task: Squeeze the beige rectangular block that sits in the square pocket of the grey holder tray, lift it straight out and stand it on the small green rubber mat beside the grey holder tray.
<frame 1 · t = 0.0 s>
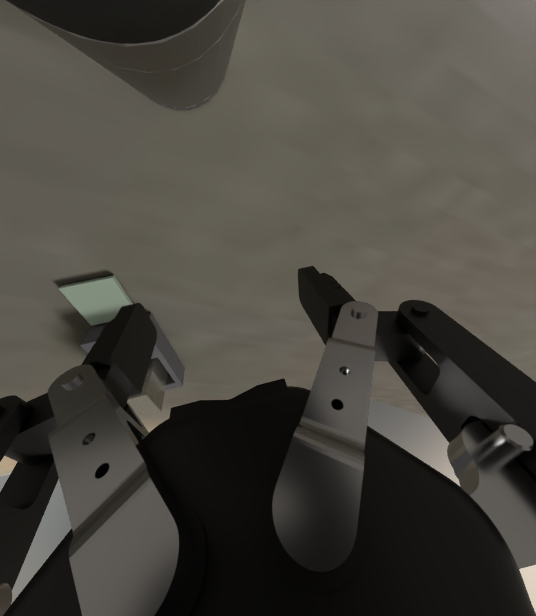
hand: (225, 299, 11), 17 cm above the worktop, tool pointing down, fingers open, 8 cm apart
grey holder tray: (144, 350, 34), on the worktop
mat: (102, 300, 28), on the worktop
beige rectangular block: (149, 360, 35), resting on grey holder tray
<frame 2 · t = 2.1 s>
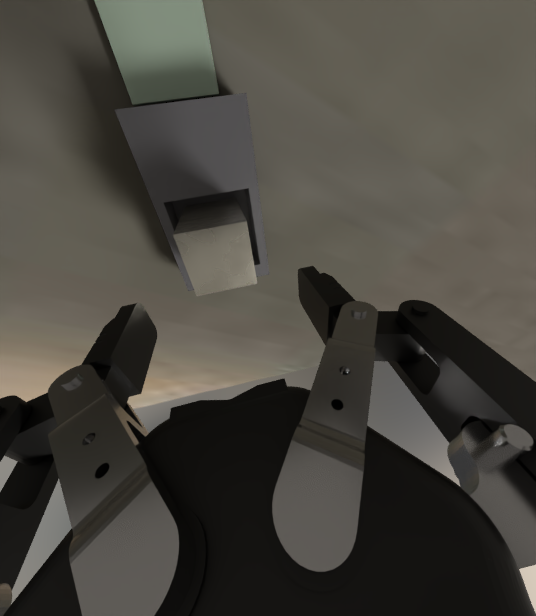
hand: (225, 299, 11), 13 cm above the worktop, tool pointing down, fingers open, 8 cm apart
grey holder tray: (211, 203, 20), on the worktop
mat: (160, 36, 14), on the worktop
beige rectangular block: (216, 227, 21), resting on grey holder tray
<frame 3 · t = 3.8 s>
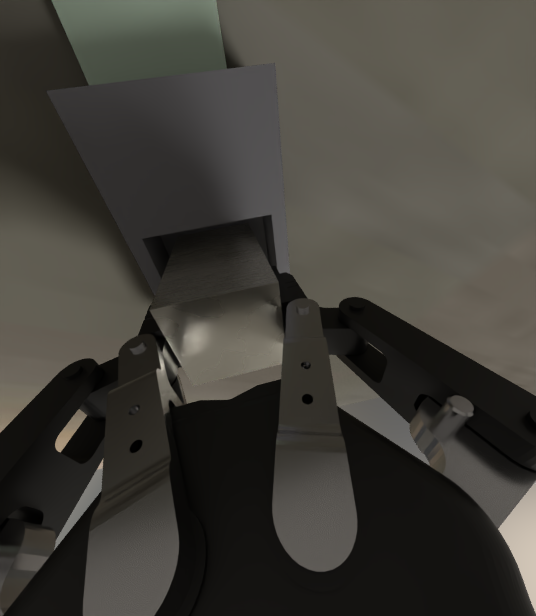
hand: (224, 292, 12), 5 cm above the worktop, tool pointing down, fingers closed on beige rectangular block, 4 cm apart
grey holder tray: (214, 230, 14), on the worktop
beige rectangular block: (222, 261, 15), point 1 cm above the worktop, touching gripper, grey holder tray
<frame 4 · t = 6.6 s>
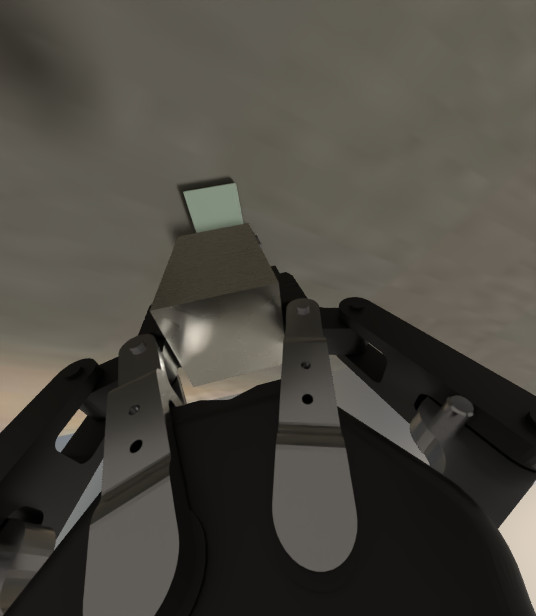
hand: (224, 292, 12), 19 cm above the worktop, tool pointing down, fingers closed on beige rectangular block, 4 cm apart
mat: (216, 214, 27), on the worktop
beige rectangular block: (222, 261, 15), point 15 cm above the worktop, touching gripper
when the fingers open (6 cm above the worktop, at t = 9.6 s): beige rectangular block drops 2 cm, resting on mat.
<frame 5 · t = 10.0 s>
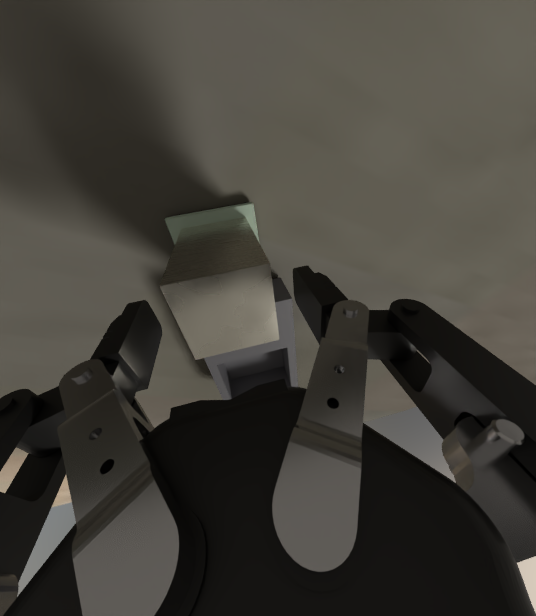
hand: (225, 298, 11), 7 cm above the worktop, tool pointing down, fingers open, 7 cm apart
grey holder tray: (249, 339, 23), on the worktop
mat: (220, 250, 17), on the worktop
beige rectangular block: (221, 253, 16), point 1 cm above the worktop, touching mat
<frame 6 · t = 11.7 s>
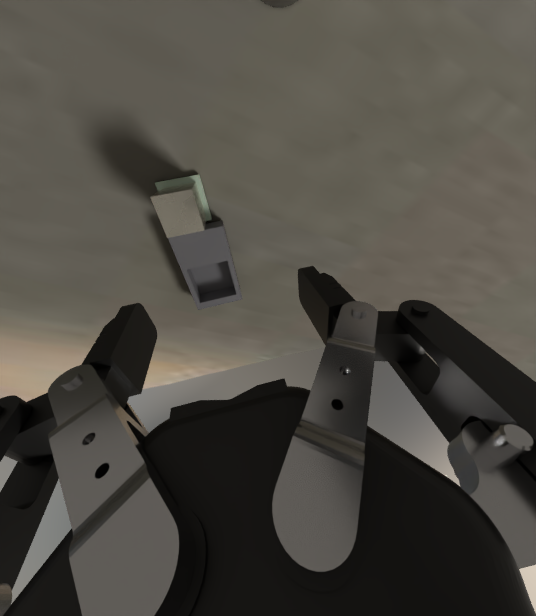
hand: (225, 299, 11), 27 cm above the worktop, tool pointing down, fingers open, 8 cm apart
grey holder tray: (209, 263, 38), on the worktop
mat: (185, 201, 32), on the worktop
beige rectangular block: (185, 202, 31), point 1 cm above the worktop, touching mat
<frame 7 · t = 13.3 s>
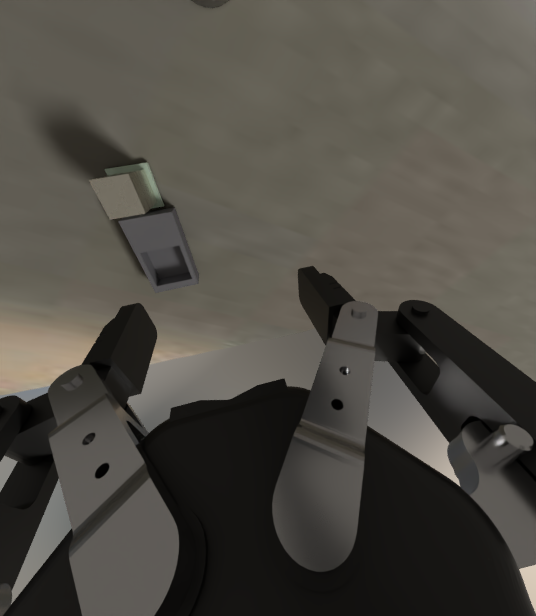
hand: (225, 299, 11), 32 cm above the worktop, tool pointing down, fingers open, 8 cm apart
grey holder tray: (166, 248, 40), on the worktop
mat: (136, 188, 34), on the worktop
beige rectangular block: (136, 188, 33), point 1 cm above the worktop, touching mat
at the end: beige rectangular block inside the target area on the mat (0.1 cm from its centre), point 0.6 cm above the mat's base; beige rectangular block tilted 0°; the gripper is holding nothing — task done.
